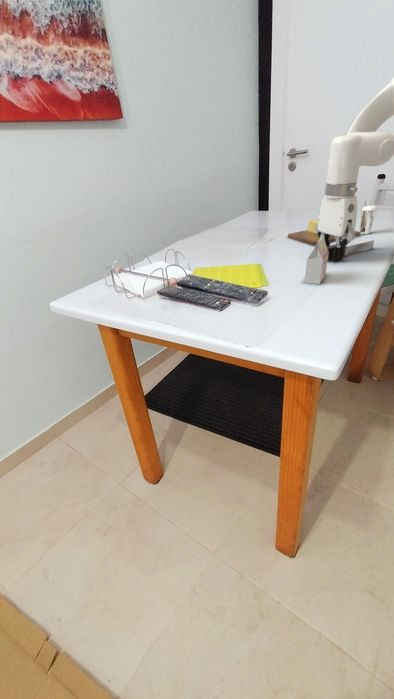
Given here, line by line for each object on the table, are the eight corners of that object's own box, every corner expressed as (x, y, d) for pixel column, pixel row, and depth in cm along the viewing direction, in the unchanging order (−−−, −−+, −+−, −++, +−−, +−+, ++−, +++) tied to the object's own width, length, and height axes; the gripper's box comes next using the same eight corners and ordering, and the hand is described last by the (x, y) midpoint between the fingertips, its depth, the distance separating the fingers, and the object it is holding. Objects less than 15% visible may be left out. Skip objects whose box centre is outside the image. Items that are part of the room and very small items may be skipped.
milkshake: (365, 230, 122) (371, 200, 117) (374, 233, 118) (380, 203, 112) (353, 231, 122) (359, 202, 116) (362, 235, 117) (368, 204, 112)
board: (331, 228, 128) (331, 225, 127) (359, 235, 117) (360, 232, 116) (287, 237, 122) (287, 233, 121) (313, 245, 111) (314, 242, 110)
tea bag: (304, 282, 85) (309, 242, 80) (311, 273, 90) (315, 235, 85) (319, 284, 83) (325, 243, 78) (325, 275, 88) (331, 236, 83)
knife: (320, 262, 97) (322, 250, 95) (315, 260, 98) (317, 248, 96) (374, 249, 103) (377, 237, 101) (369, 247, 105) (371, 236, 103)
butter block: (316, 229, 124) (317, 219, 122) (327, 232, 119) (329, 221, 117) (307, 230, 123) (308, 220, 121) (318, 234, 118) (320, 223, 116)
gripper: (377, 191, 84) (362, 263, 93) (328, 185, 97) (320, 249, 107) (354, 195, 81) (341, 268, 91) (307, 189, 95) (301, 253, 104)
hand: (330, 257), depth 99 cm, fingers open, 4 cm apart
